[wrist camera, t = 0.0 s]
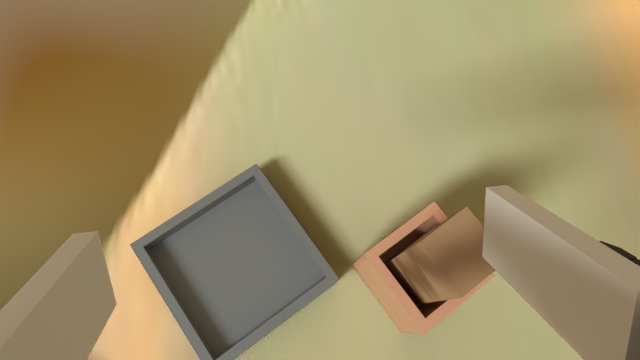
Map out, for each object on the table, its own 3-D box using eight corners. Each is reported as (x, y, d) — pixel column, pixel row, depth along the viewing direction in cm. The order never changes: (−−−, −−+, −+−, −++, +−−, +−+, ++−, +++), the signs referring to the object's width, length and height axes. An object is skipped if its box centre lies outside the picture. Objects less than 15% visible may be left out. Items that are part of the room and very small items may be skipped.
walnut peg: (439, 278, 50) (510, 258, 34) (405, 305, 49) (461, 298, 32) (411, 242, 51) (466, 206, 35) (377, 268, 50) (418, 243, 34)
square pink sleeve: (460, 283, 51) (494, 275, 42) (400, 332, 49) (424, 334, 40) (411, 220, 53) (434, 201, 44) (351, 265, 51) (363, 253, 42)
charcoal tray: (336, 281, 50) (339, 279, 47) (215, 372, 46) (210, 376, 44) (258, 172, 53) (256, 163, 51) (139, 249, 50) (129, 244, 47)
